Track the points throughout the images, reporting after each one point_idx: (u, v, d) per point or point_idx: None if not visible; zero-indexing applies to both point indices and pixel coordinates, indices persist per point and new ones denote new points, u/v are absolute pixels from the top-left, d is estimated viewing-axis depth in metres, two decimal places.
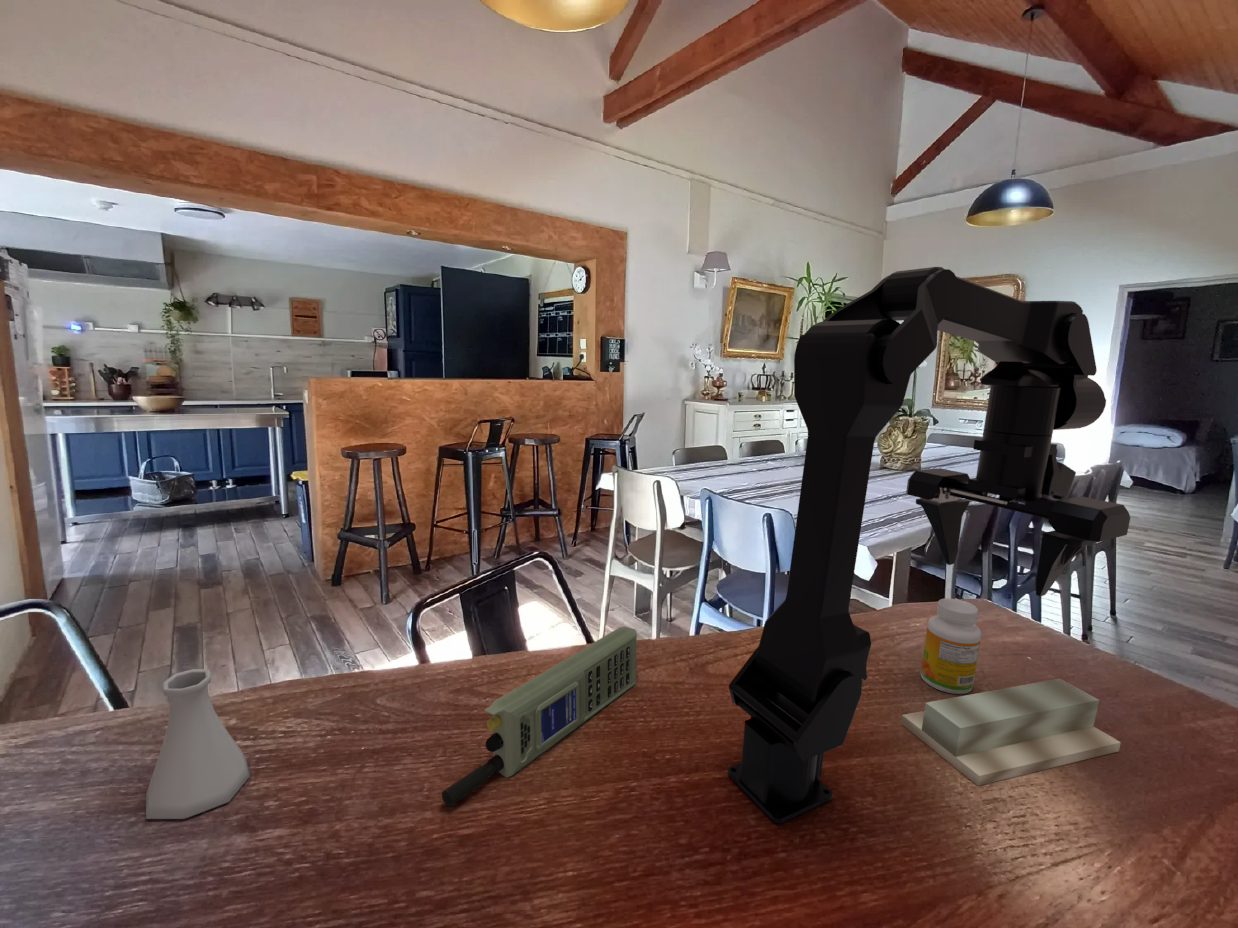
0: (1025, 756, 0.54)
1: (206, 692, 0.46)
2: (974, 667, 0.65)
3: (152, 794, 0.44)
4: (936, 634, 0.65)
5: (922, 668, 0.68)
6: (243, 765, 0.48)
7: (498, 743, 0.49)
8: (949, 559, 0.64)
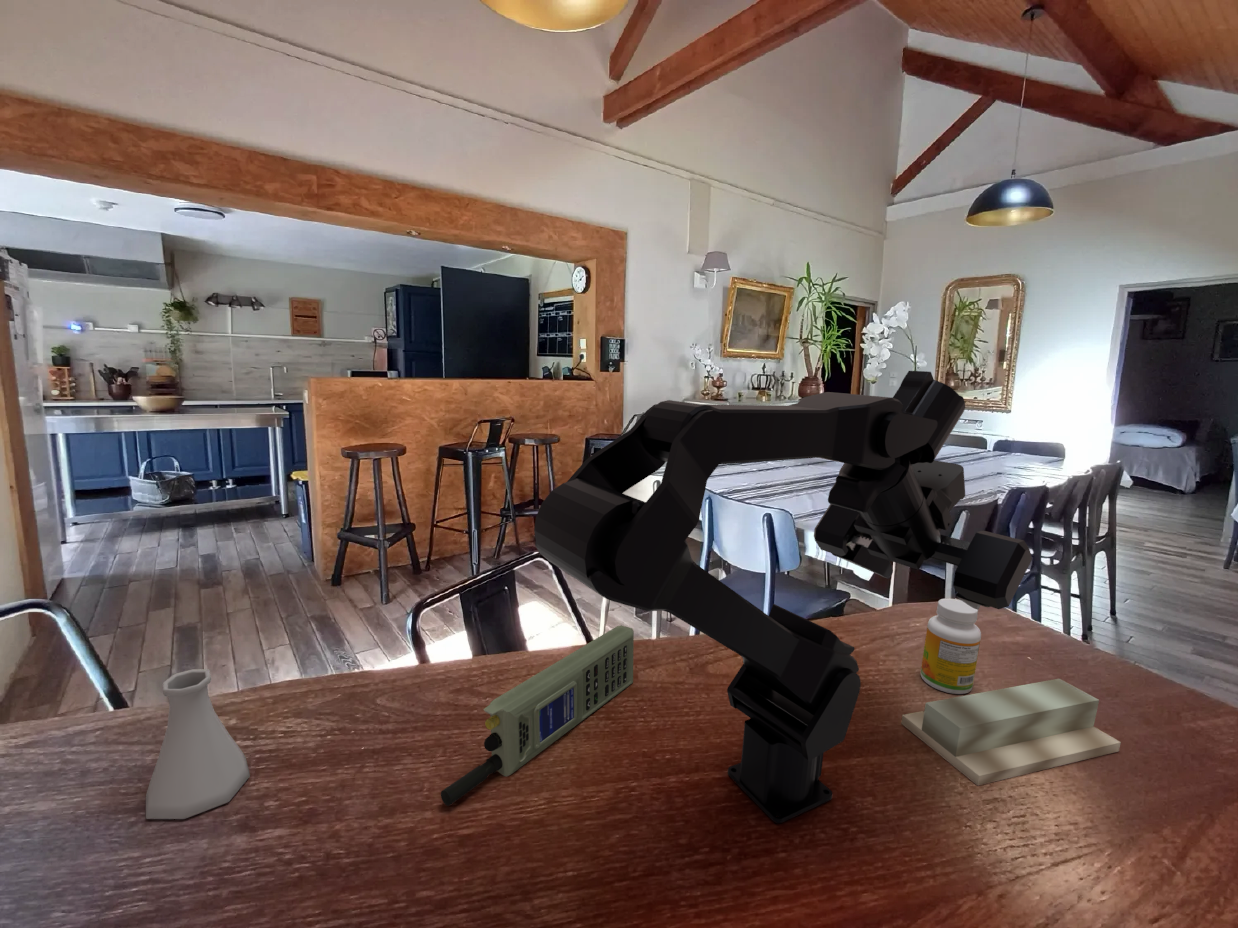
0: (1025, 756, 0.54)
1: (206, 692, 0.46)
2: (974, 667, 0.65)
3: (152, 794, 0.44)
4: (936, 634, 0.65)
5: (922, 668, 0.68)
6: (243, 765, 0.48)
7: (497, 742, 0.49)
8: (887, 575, 0.64)
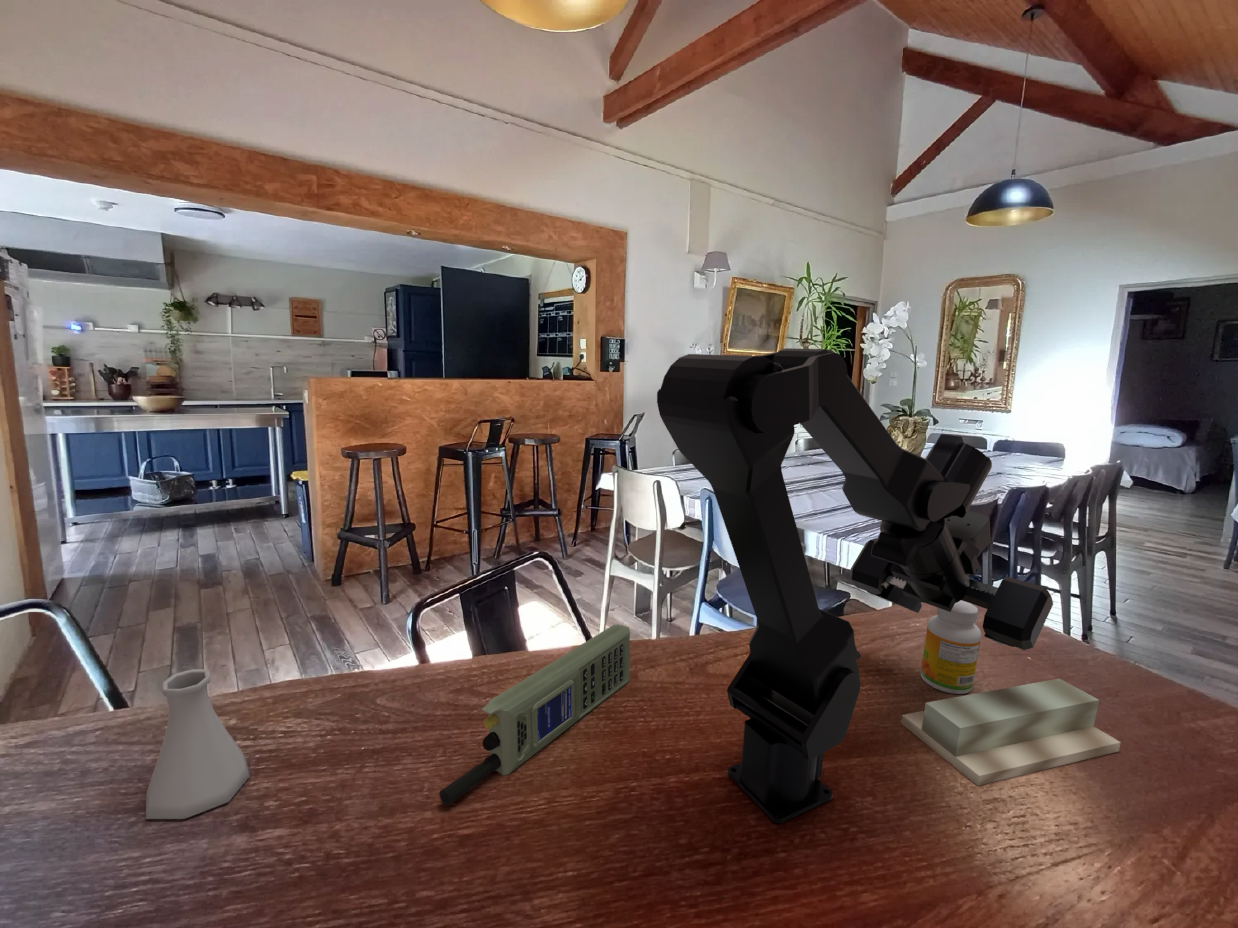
0: (1025, 756, 0.54)
1: (205, 692, 0.46)
2: (974, 667, 0.65)
3: (152, 794, 0.44)
4: (936, 634, 0.65)
5: (922, 668, 0.68)
6: (243, 765, 0.48)
7: (495, 742, 0.50)
8: (916, 610, 0.70)
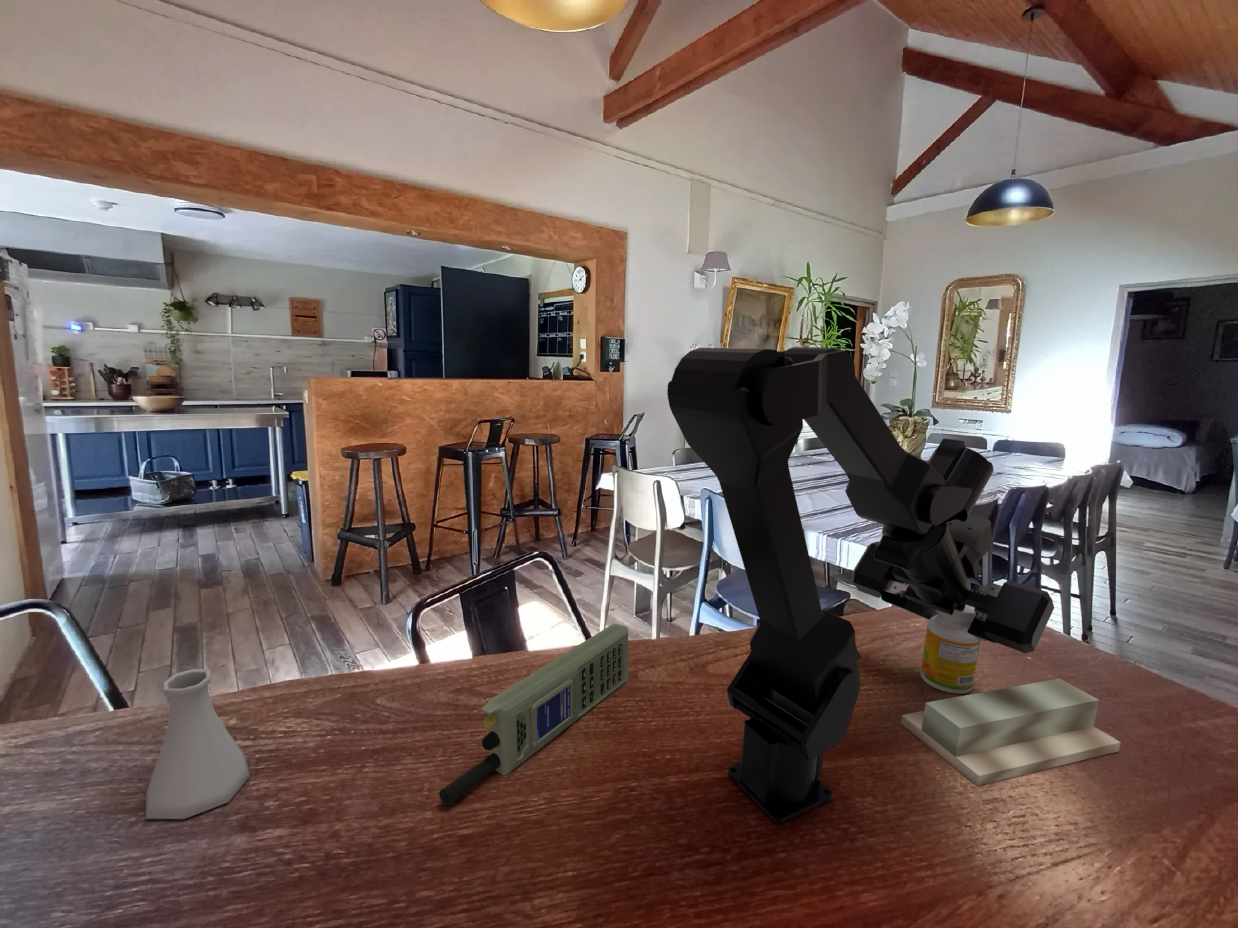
0: (1025, 756, 0.54)
1: (206, 692, 0.46)
2: (974, 667, 0.65)
3: (152, 794, 0.44)
4: (936, 634, 0.65)
5: (922, 668, 0.68)
6: (243, 765, 0.48)
7: (495, 741, 0.50)
8: None
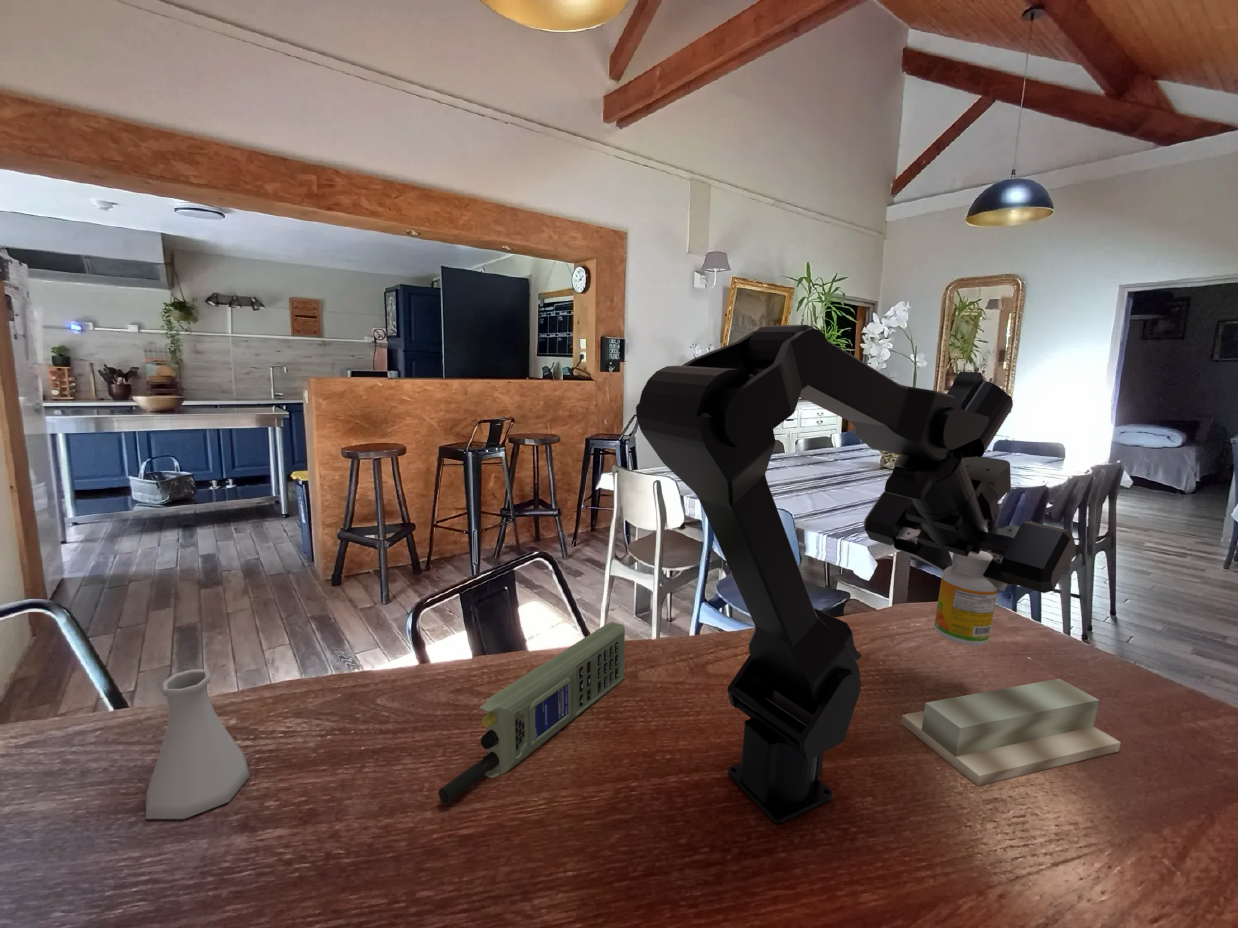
0: (1025, 756, 0.54)
1: (205, 692, 0.46)
2: (990, 617, 0.62)
3: (152, 794, 0.44)
4: (951, 583, 0.63)
5: (936, 620, 0.65)
6: (243, 765, 0.48)
7: (493, 740, 0.50)
8: None
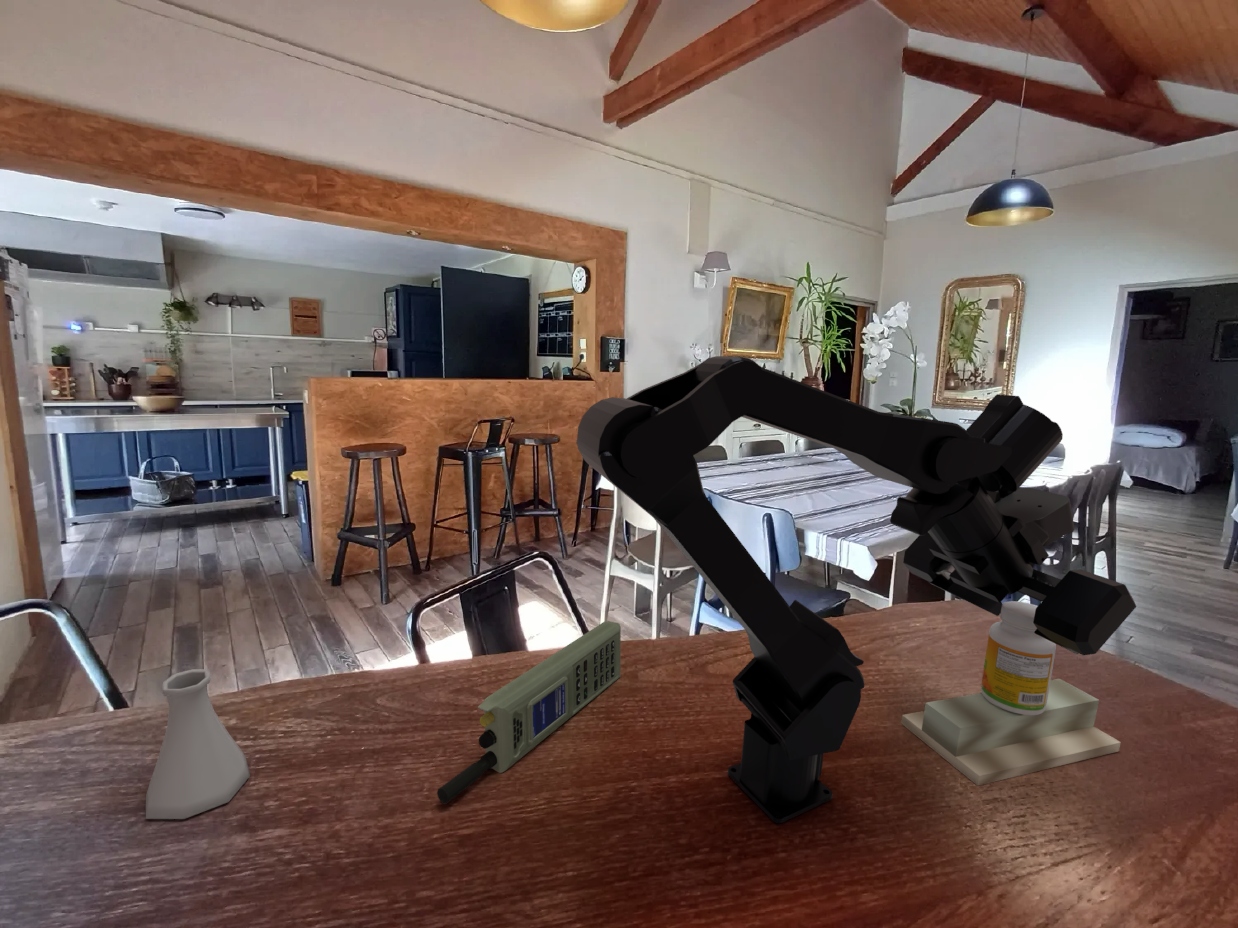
0: (1025, 756, 0.54)
1: (205, 692, 0.46)
2: (1043, 685, 0.54)
3: (152, 794, 0.44)
4: (994, 639, 0.56)
5: (982, 680, 0.58)
6: (243, 765, 0.48)
7: (491, 739, 0.50)
8: (995, 612, 0.59)
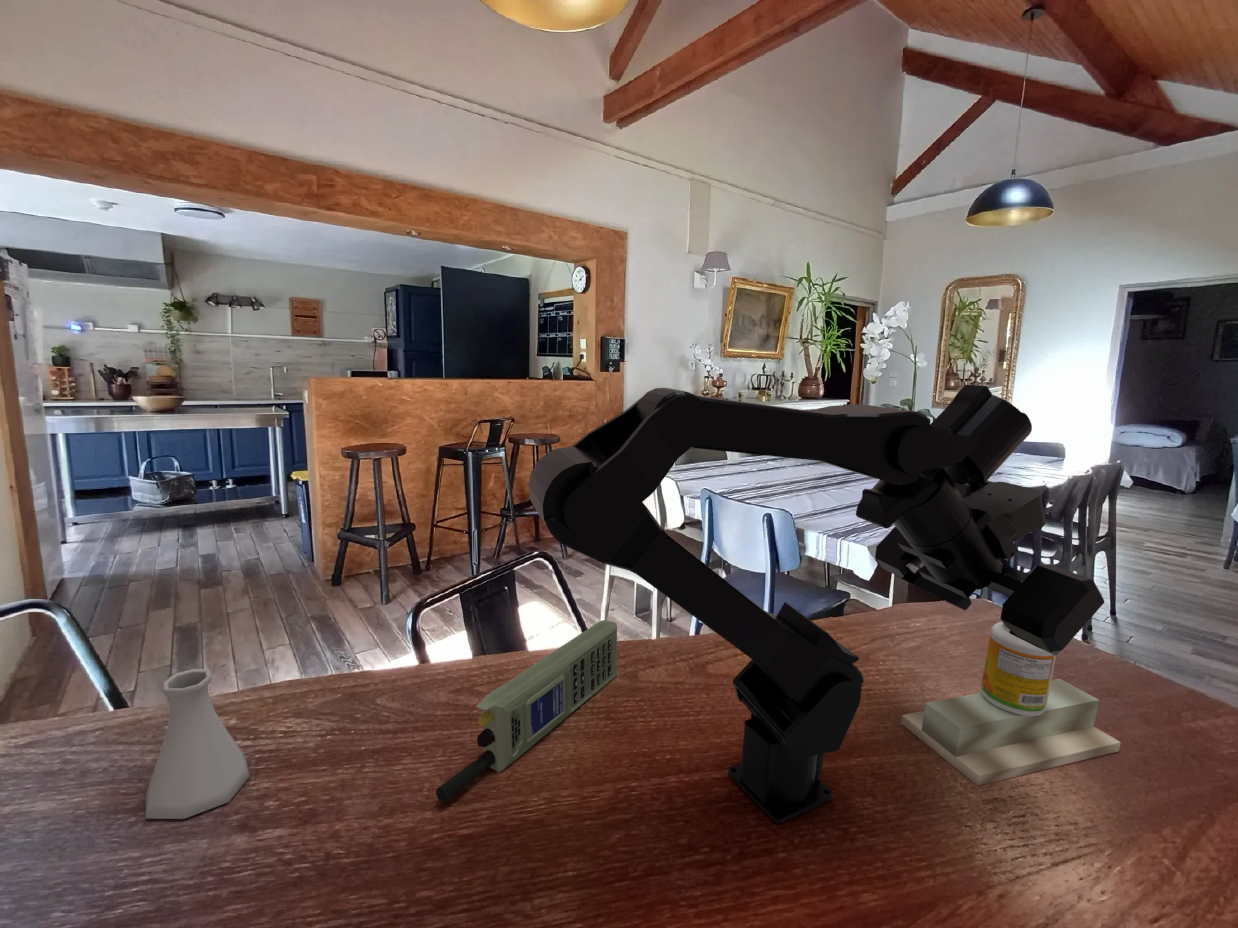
0: (1025, 756, 0.54)
1: (206, 692, 0.46)
2: (1044, 686, 0.54)
3: (152, 794, 0.44)
4: (996, 640, 0.56)
5: (982, 680, 0.58)
6: (243, 765, 0.48)
7: (490, 738, 0.50)
8: (962, 607, 0.59)
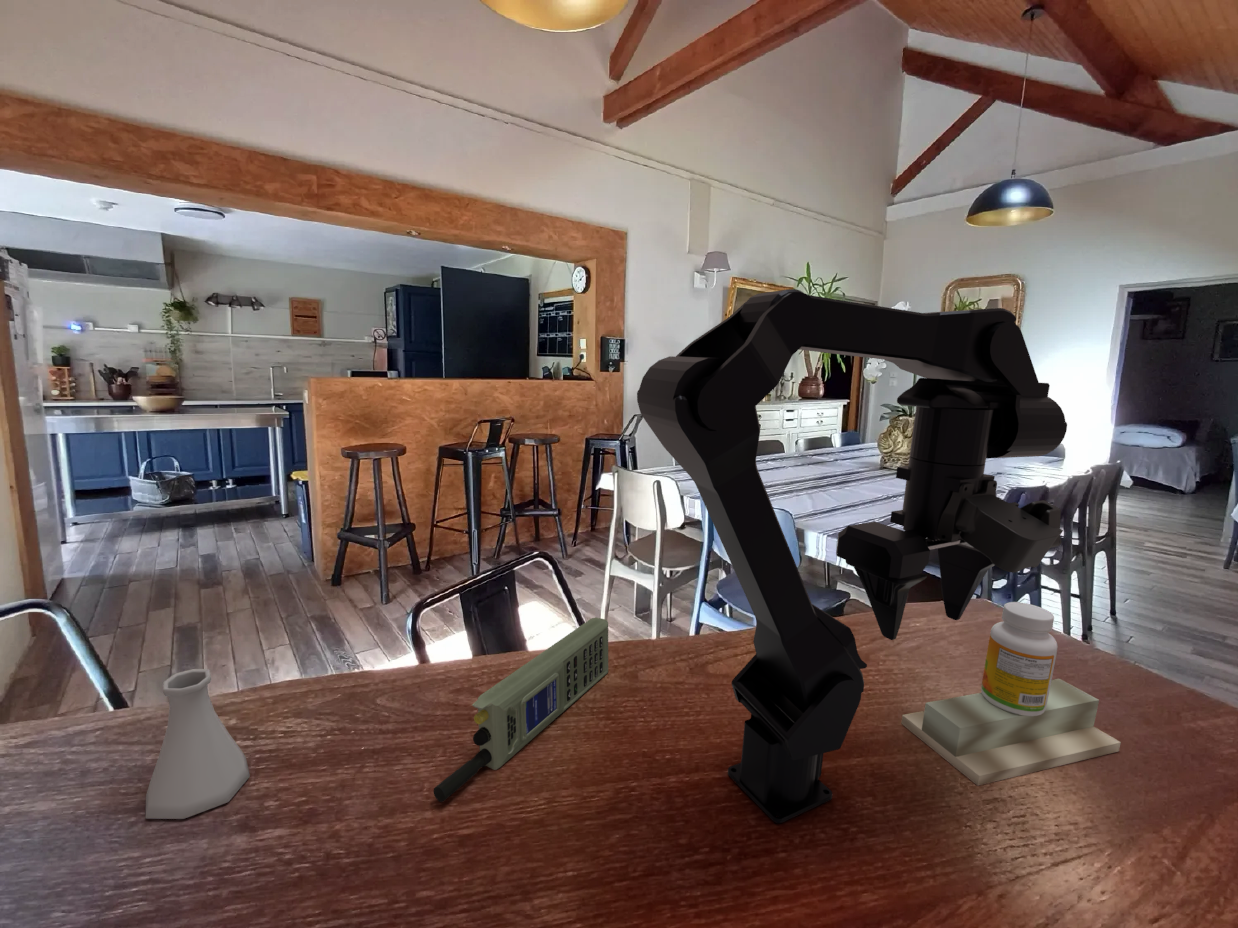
0: (1025, 756, 0.54)
1: (206, 692, 0.46)
2: (1044, 686, 0.54)
3: (152, 794, 0.44)
4: (996, 640, 0.56)
5: (982, 680, 0.58)
6: (243, 765, 0.48)
7: (486, 737, 0.50)
8: (947, 609, 0.55)
